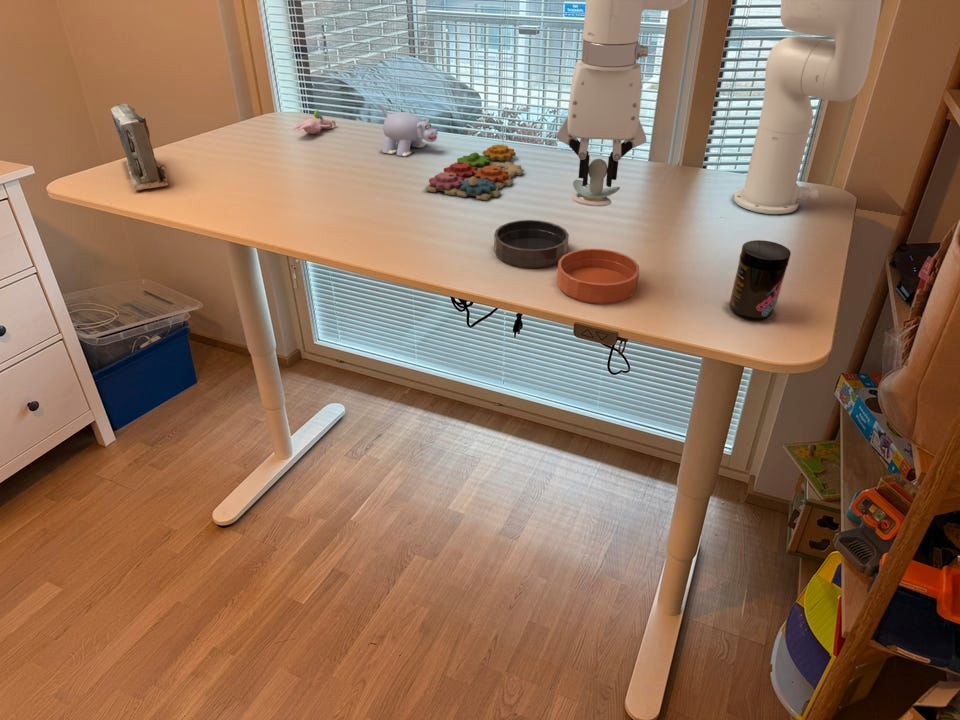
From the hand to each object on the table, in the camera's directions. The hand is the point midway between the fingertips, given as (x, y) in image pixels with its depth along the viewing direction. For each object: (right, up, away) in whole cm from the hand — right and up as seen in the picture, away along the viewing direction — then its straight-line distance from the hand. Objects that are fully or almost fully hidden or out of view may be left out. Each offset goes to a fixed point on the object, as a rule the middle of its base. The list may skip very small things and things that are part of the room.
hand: (596, 182), depth 106 cm
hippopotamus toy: (-36, +25, +67) cm, 80 cm away
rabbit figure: (-62, +33, +78) cm, 105 cm away
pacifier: (0, -3, +2) cm, 3 cm away
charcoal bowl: (-9, -8, +18) cm, 22 cm away
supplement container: (+24, -20, +1) cm, 31 cm away
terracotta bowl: (+1, -15, +8) cm, 17 cm away
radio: (-94, +14, +51) cm, 108 cm away
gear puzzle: (-17, +15, +52) cm, 57 cm away
